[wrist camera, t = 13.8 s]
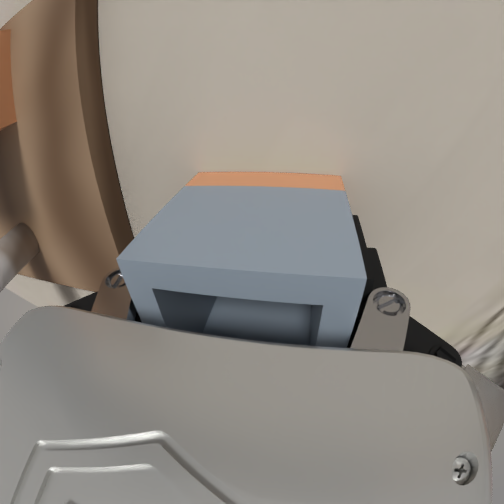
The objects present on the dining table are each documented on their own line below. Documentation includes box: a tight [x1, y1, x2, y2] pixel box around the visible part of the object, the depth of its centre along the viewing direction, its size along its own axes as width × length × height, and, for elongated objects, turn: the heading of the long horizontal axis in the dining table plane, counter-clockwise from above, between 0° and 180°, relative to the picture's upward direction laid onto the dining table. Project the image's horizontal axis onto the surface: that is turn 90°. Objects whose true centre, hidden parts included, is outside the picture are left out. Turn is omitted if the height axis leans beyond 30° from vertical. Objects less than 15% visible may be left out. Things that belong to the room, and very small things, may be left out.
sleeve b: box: [116, 172, 367, 348], centre depth 10 cm, size 6×6×6 cm
